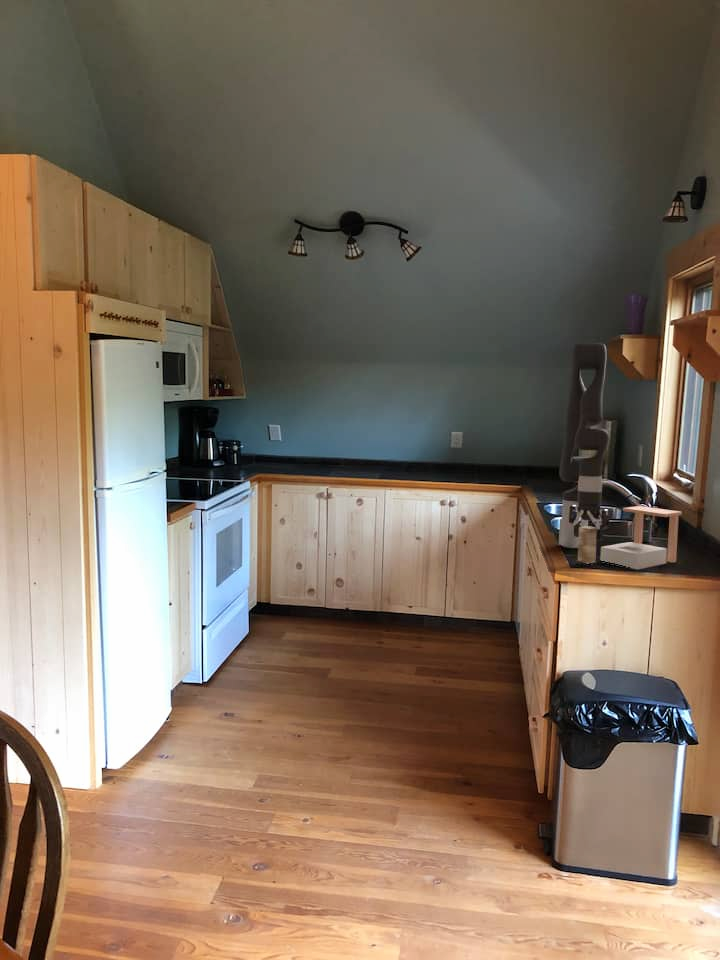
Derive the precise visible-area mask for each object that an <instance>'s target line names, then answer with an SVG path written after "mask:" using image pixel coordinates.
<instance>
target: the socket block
mask: <svg viewBox="0 0 720 960" xmlns="http://www.w3.org/2000/svg"><path fill="white" fill-rule="evenodd" d="M667 555H668V548H666V547H660V546H654V545H648V544H645V543H642V544H639V543H634V541H629V542H622V543H616V544H611V545H604V546H600V560H601V561H605V562H610V563H615V564H619V565H623V566H626V567H625V568H628V567H630V568H629V569H632V570H633V569H634V570H642V569H646V568H651V567H655V566H656V567H657V566H661V565H664V564H667ZM600 560H599V561H600ZM605 562H604V563H605ZM619 565H618V566H619ZM623 566H622V567H623Z"/></svg>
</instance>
